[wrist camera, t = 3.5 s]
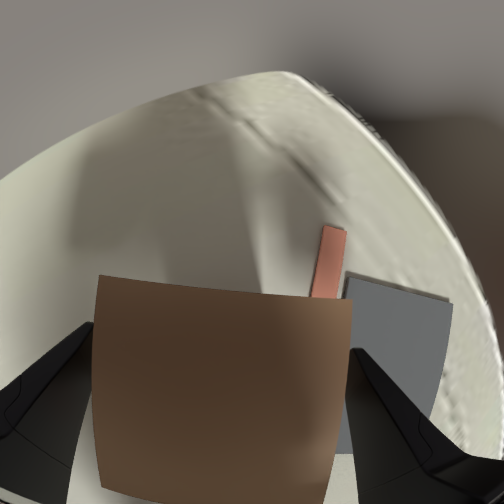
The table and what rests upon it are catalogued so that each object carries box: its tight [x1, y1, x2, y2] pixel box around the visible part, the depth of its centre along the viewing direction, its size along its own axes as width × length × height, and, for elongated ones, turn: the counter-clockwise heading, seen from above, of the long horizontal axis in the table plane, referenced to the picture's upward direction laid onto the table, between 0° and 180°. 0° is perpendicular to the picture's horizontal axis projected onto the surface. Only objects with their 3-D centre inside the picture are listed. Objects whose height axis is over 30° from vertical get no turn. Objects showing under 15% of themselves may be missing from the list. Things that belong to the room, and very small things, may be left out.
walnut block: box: [92, 275, 353, 504], centre depth 10 cm, size 5×5×12 cm
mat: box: [335, 277, 453, 454], centre depth 16 cm, size 12×10×1 cm
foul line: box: [310, 225, 347, 299], centre depth 16 cm, size 18×2×1 cm, turn 166°
